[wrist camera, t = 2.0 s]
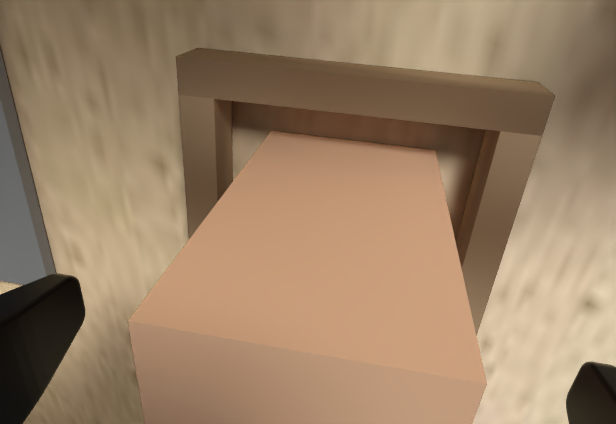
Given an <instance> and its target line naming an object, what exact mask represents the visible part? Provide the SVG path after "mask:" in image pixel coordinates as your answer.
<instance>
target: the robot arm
mask: <svg viewBox="0 0 616 424" xmlns="http://www.w3.org/2000/svg"><path fill="white" fill-rule="evenodd" d="M84 318H85V306H84V301H83V297H82V292H81V287H80V283H79V281H78V279H77V278H76V277H74V276H71V275H65V274H59V273H54V274H50V275H48V276H45V277H43V278H40V279H38V280H35V281H33V282H30V283H28V284H26V285H23V286H21V287H18V288H16V289H13V290H11V291H8V292H6V293H3V294H1V295H0V424H23V422H24V421H25V419H26V418H27V417H28V415H29V414H30V412H31V411H32V409H33V408H34V406H35V405H36V403H37V402H38V400H39V399H40V397H41V396H42V394H43V393H44V391H45V389H46V388H47V386H48V384H49V382H50V381H51V379H52V377H53V375H54V374H55V372H56V370H57V368H58V366H59V365H60V363H61V361H62V359H63V357H64V356H65V354H66V352H67V350H68V349H69V347H70V345H71V343H72V341H73V340H74V338H75V336H76V334H77V332H78V331H79V329H80V327H81V325H82V323H83V321H84ZM566 409H567V415H568V420H569V424H616V367H614V366H612V365H608V364H602V363H596V362H586V363H584V364H583V365H582V367H581V368H580V370H579V372H578V374H577V376H576V378H575V380H574V382H573V384H572V386H571V388H570V390H569V392H568V395H567V399H566Z"/></svg>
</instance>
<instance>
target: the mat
mask: <svg viewBox="0 0 616 424" xmlns="http://www.w3.org/2000/svg"><path fill="white" fill-rule="evenodd" d="M54 273H56V272H55V267H54V263H53V259H52V255H51V251H50V247H49V243H48V239H47V235H46V231H45V227H44V223H43V219H42V215H41V211H40V207H39V203H38V199H37V195H36V191H35V187H34V183H33V179H32V175H31V171H30V167H29V163H28V159H27V155H26V150H25V146H24V142H23V138H22V134H21V130H20V126H19V122H18V118H17V114H16V110H15V106H14V102H13V98H12V94H11V90H10V86H9V82H8V78H7V74H6V70H5V66H4V62H3V58H2V54H1V50H0V281H5V282H10V283H16V284H22V285H26V284H28V283H30V282H33V281H35V280H38V279H40V278H43V277H45V276H48V275H50V274H54Z"/></svg>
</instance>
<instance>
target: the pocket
mask: <svg viewBox="0 0 616 424" xmlns="http://www.w3.org/2000/svg"><path fill="white" fill-rule="evenodd" d="M176 63H177V78H178V92H179V106H180V120H181V134H182V148H183V162H184V176H185V190H186V205H187V219H188V233H189V239H190V238H191V236H192V235H193V234H194V233H195V231H196V230H197V229H198V227H199V226H200V225H201V223H202V222H203V221H204V219H205V218H206V217H207V215H208V214H209V213H210V211H211V210H212V209H213V207H214V206H215V205H216V203H217V202H218V201H219V199H220V198H221V197H222V195H223V194H224V193H225V191H226V190H227V189H228V187H229V186H230V185H231V184H232V182H233V167H232V101H238V102H247V103H255V104H264V105H273V106H282V107H291V108H300V109H308V110H317V111H326V112H335V113H344V114H352V115H361V116H370V117H379V118H388V119H397V120H405V121H414V122H423V123H432V124H441V125H450V126H458V127H467V128H476V129H485V130H486V131H485V134H484V138H483V142H482V146H481V150H480V153H479V157H478V161H477V165H476V169H475V172H474V176H473V180H472V184H471V187H470V191H469V195H468V199H467V203H466V206H465V210H464V214H463V218H462V222H461V225H460V229H459V233H458V237H457V240H456V246H457V251H458V255H459V260H460V264H461V269H462V273H463V278H464V282H465V287H466V291H467V296H468V300H469V305H470V309H471V314H472V319H473V323H474V328H475V332H476V336H477V332H478V329H479V326H480V323H481V320H482V317H483V314H484V311H485V308H486V305H487V302H488V299H489V296H490V293H491V290H492V287H493V284H494V281H495V278H496V275H497V272H498V269H499V266H500V262H501V259H502V256H503V253H504V250H505V247H506V244H507V241H508V238H509V235H510V232H511V229H512V226H513V223H514V220H515V217H516V214H517V211H518V208H519V205H520V202H521V199H522V195H523V192H524V189H525V186H526V183H527V180H528V177H529V174H530V171H531V168H532V165H533V162H534V159H535V156H536V153H537V150H538V147H539V144H540V141H541V138H542V135H543V132H544V129H545V125H546V122H547V119H548V116H549V113H550V110H551V107H552V104H553V101H554V98H555V95H553V94H552V93H551V92H550V91H548V90H547V89H546V88H545V87H543V86H542V85H541V84H540V83H538V82H532V81H522V80H512V79H502V78H492V77H482V76H472V75H462V74H452V73H442V72H432V71H422V70H412V69H402V68H392V67H382V66H372V65H362V64H352V63H343V62H333V61H323V60H313V59H303V58H293V57H283V56H273V55H263V54H253V53H243V52H233V51H223V50H213V49H203V48H196V49H194V50H191V51H189V52H186V53H184V54H181V55H179V56H177V57H176Z"/></svg>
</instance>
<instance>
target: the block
mask: <svg viewBox="0 0 616 424" xmlns="http://www.w3.org/2000/svg"><path fill="white" fill-rule="evenodd" d="M128 326H129V332H130V338H131V344H132V350H133V356H134V362H135V368H136V374H137V380H138V387H139V393H140V399H141V405H142V411H143V417H144V423H145V424H472V423H473V420H474V418H475V415H476V412H477V410H478V407H479V404H480V401H481V399H482V396H483V393H484V391H485V388H486V385H487V382H486V377H485V373H484V368H483V364H482V359H481V355H480V350H479V346H478V341H477V337H476V332H475V328H474V323H473V319H472V314H471V309H470V305H469V300H468V296H467V291H466V287H465V282H464V278H463V273H462V269H461V264H460V260H459V255H458V251H457V246H456V242H455V237H454V233H453V228H452V224H451V219H450V214H449V210H448V205H447V201H446V196H445V192H444V187H443V183H442V178H441V174H440V169H439V165H438V160H437V156H436V151H435V150H429V149H421V148H412V147H404V146H396V145H387V144H379V143H371V142H362V141H354V140H346V139H337V138H329V137H321V136H312V135H304V134H296V133H287V132H279V131H271V132H270V133H269V135H268V136H267V137H266V138H265V140H264V141H263V142H262V144H261V145H260V146H259V148H258V149H257V150H256V152H255V153H254V154H253V156H252V157H251V158H250V160H249V161H248V162H247V164H246V165H245V166H244V168H243V169H242V170H241V172H240V173H239V174H238V176H237V177H236V178H235V180H234V181H233V182H232V184H231V185H230V186H229V187H228V189H227V190H226V191H225V193H224V194H223V195H222V197H221V198H220V199H219V201H218V202H217V203H216V205H215V206H214V207H213V209H212V210H211V211H210V213H209V214H208V215H207V217H206V218H205V219H204V221H203V222H202V223H201V225H200V226H199V227H198V229H197V230H196V231H195V233H194V234H193V235H192V236H191V238H190V239H189V240H188V242H187V243H186V244H185V246H184V247H183V248H182V250H181V251H180V252H179V254H178V255H177V256H176V258H175V259H174V260H173V262H172V263H171V264H170V266H169V267H168V268H167V270H166V271H165V272H164V274H163V275H162V276H161V278H160V279H159V280H158V282H157V283H156V284H155V286H154V287H153V288H152V289H151V291H150V292H149V293H148V295H147V296H146V297H145V299H144V300H143V301H142V303H141V304H140V305H139V307H138V308H137V309H136V311H135V312H134V313H133V315H132V316H131V317H130V319H129V320H128Z"/></svg>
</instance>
